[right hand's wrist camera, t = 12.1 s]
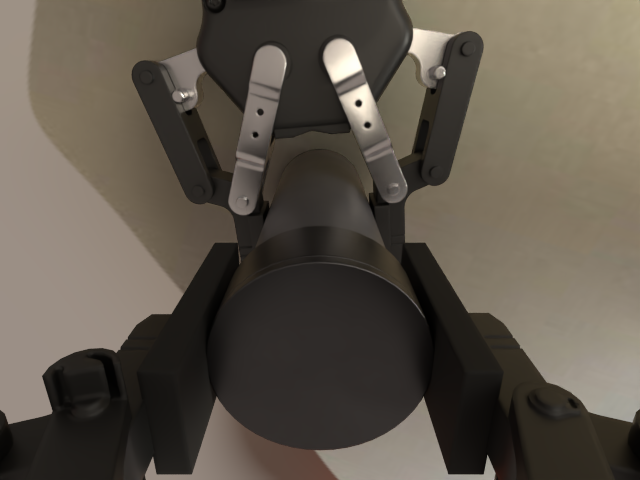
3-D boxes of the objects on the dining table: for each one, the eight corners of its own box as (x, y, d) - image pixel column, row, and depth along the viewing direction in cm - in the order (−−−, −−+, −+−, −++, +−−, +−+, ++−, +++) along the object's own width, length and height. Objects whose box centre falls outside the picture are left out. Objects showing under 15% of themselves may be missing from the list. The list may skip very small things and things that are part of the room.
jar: (292, 236, 27) (257, 443, 12) (269, 161, 25) (194, 293, 10) (368, 217, 26) (431, 408, 11) (350, 139, 24) (397, 244, 10)
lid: (259, 404, 14) (247, 467, 12) (197, 252, 12) (169, 294, 10) (429, 368, 13) (450, 427, 11) (394, 202, 11) (413, 235, 9)
